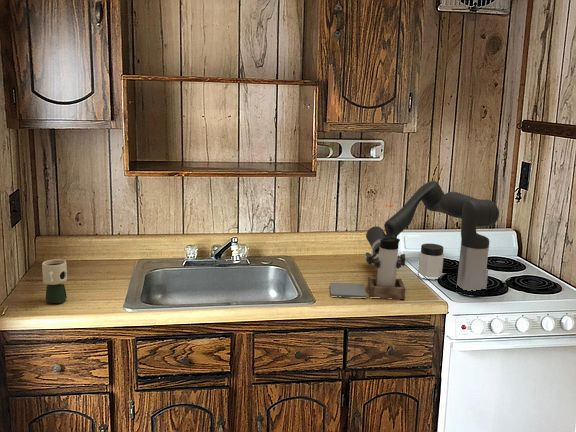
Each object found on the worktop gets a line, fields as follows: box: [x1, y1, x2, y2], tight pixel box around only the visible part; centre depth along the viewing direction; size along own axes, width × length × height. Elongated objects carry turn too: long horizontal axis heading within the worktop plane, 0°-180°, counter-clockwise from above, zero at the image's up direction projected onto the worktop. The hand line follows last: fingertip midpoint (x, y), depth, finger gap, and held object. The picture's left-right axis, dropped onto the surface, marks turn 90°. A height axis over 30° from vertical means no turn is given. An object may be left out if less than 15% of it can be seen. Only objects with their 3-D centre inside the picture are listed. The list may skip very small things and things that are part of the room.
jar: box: [417, 243, 445, 277], centre depth 225 cm, size 9×8×12 cm
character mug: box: [41, 258, 68, 304], centre depth 188 cm, size 11×7×13 cm, turn 6°
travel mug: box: [376, 237, 401, 287], centre depth 204 cm, size 6×7×20 cm
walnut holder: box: [367, 276, 406, 300], centre depth 206 cm, size 12×10×4 cm
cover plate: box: [329, 282, 368, 298], centre depth 207 cm, size 12×12×1 cm
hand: (388, 265), depth 202 cm, fingers closed on travel mug, 6 cm apart
